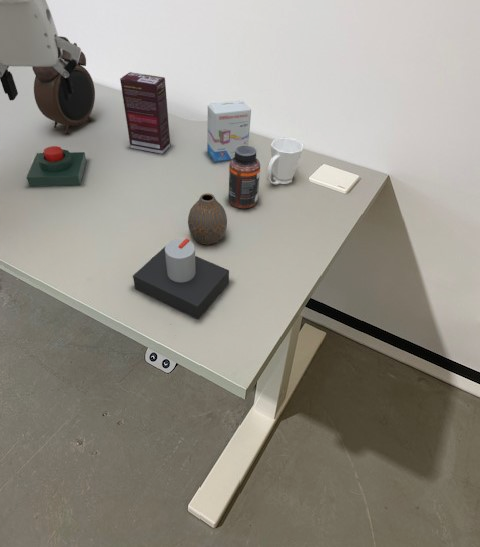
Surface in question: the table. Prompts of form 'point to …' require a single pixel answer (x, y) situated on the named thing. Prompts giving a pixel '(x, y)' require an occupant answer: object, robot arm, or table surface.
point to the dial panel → (182, 285)
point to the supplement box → (146, 111)
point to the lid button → (53, 153)
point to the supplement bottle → (244, 177)
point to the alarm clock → (53, 98)
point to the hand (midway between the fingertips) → (41, 97)
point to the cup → (284, 160)
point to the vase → (207, 220)
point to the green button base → (57, 170)
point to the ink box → (227, 129)
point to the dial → (180, 260)
